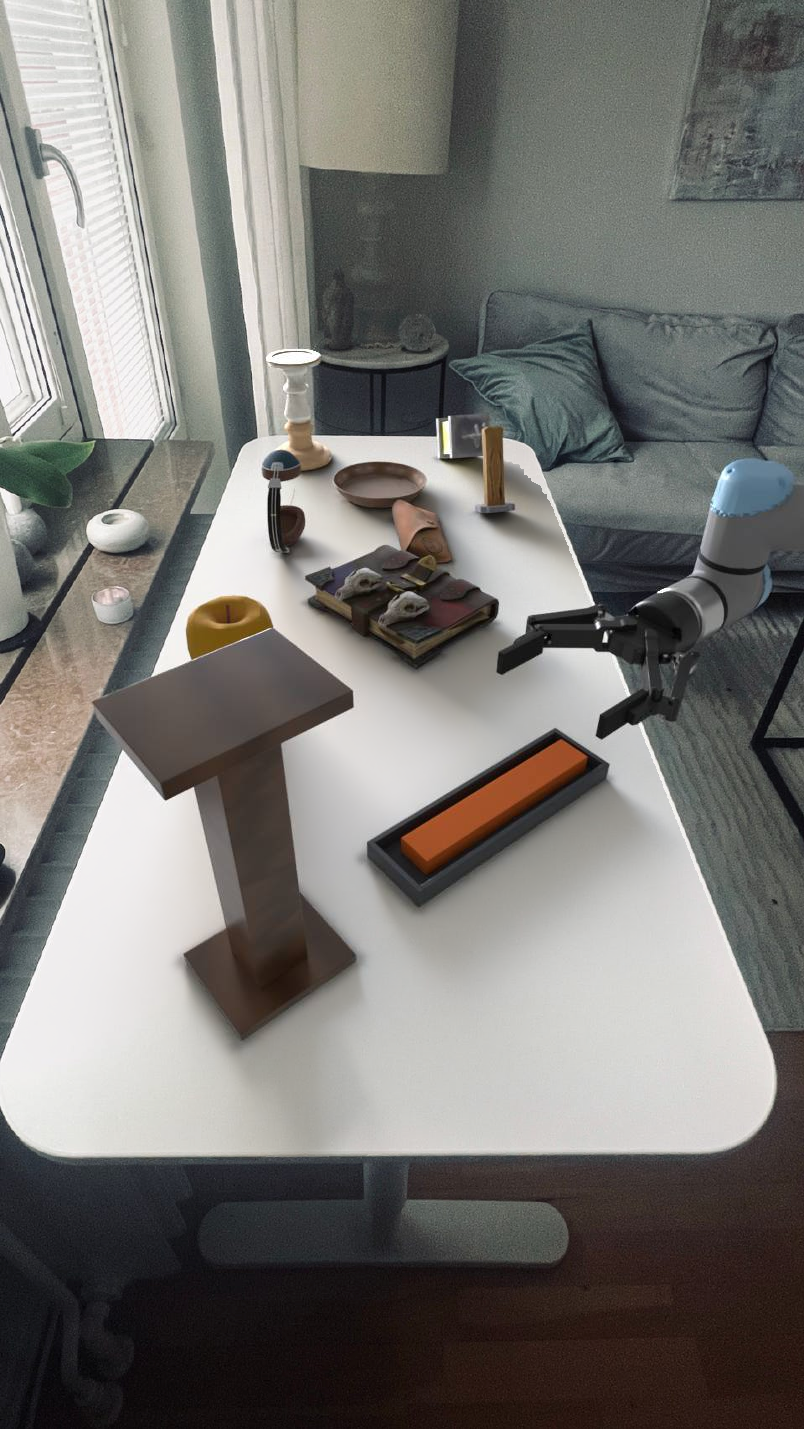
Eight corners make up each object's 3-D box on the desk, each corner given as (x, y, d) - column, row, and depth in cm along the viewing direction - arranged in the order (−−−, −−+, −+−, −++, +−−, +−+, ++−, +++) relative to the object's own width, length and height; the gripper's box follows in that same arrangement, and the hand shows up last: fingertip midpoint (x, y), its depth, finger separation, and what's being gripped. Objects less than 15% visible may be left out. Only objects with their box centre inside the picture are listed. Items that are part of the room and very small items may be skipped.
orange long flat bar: (558, 752, 93) (561, 738, 91) (585, 771, 90) (588, 756, 89) (400, 852, 81) (401, 837, 79) (426, 875, 78) (426, 861, 77)
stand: (303, 887, 78) (272, 626, 59) (365, 954, 72) (353, 690, 53) (174, 966, 71) (91, 700, 52) (230, 1048, 65) (160, 783, 46)
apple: (268, 721, 98) (256, 634, 90) (184, 713, 99) (165, 627, 91) (290, 669, 106) (281, 585, 98) (212, 663, 107) (197, 579, 99)
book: (503, 624, 115) (507, 579, 110) (413, 673, 106) (414, 627, 101) (383, 559, 130) (382, 517, 126) (295, 597, 121) (291, 554, 116)
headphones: (278, 503, 144) (260, 573, 128) (269, 423, 133) (248, 489, 118) (312, 504, 144) (298, 574, 128) (306, 424, 133) (289, 490, 118)
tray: (552, 741, 95) (555, 727, 93) (606, 778, 90) (610, 763, 89) (367, 856, 81) (366, 841, 80) (418, 907, 76) (419, 892, 75)
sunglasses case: (455, 559, 129) (436, 528, 125) (418, 581, 130) (398, 551, 126) (437, 512, 143) (419, 483, 139) (404, 532, 144) (385, 504, 140)
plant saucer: (402, 469, 159) (402, 454, 157) (442, 503, 147) (443, 487, 145) (319, 484, 153) (318, 469, 152) (355, 520, 141) (354, 504, 139)
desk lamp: (440, 504, 167) (478, 513, 139) (436, 418, 162) (475, 410, 133) (475, 501, 168) (520, 510, 140) (472, 416, 163) (518, 407, 135)
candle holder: (287, 445, 169) (277, 345, 156) (340, 452, 166) (335, 350, 153) (261, 467, 160) (249, 362, 147) (318, 474, 157) (310, 368, 144)
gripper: (762, 699, 85) (641, 787, 75) (583, 605, 100) (461, 668, 90) (783, 641, 81) (657, 727, 70) (592, 552, 95) (465, 611, 85)
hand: (547, 694), depth 80 cm, fingers open, 13 cm apart
